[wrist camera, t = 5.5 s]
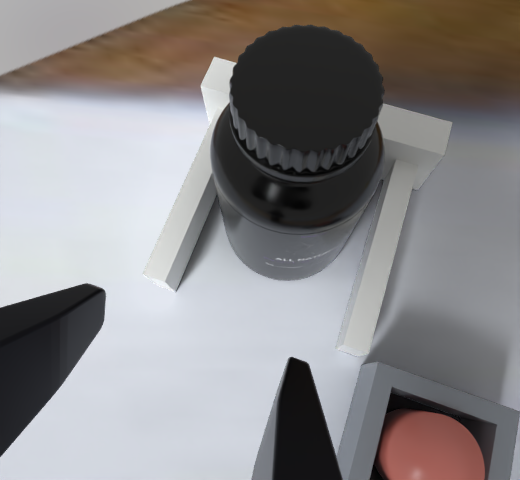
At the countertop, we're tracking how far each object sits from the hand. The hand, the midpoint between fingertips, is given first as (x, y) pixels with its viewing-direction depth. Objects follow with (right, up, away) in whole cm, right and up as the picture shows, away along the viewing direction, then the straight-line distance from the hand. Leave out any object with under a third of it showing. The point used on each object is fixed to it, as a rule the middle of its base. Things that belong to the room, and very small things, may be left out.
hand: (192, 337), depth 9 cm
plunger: (+8, -8, +11) cm, 16 cm away
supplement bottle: (+3, +3, +15) cm, 16 cm away
